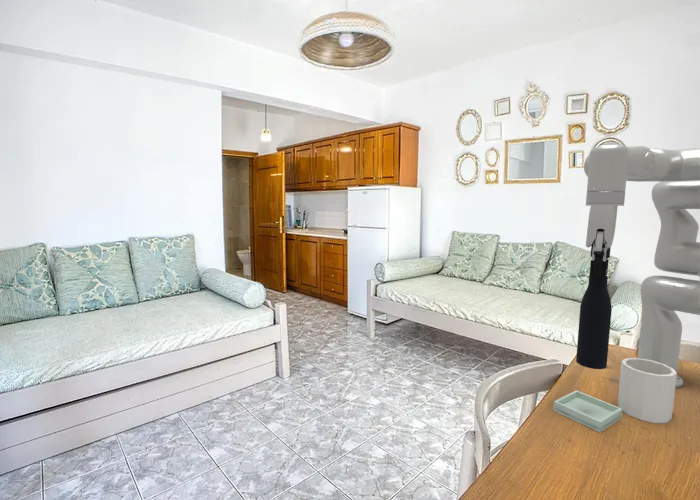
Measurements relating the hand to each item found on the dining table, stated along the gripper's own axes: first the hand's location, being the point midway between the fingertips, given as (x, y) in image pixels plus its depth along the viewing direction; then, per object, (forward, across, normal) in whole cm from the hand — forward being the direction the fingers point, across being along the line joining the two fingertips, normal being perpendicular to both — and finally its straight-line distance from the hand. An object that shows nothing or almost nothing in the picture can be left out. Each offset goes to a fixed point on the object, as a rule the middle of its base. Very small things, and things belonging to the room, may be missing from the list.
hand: (598, 275), depth 91 cm
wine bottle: (+22, 0, 0) cm, 22 cm away
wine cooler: (+36, -11, +11) cm, 39 cm away
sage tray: (+36, 0, 0) cm, 36 cm away
